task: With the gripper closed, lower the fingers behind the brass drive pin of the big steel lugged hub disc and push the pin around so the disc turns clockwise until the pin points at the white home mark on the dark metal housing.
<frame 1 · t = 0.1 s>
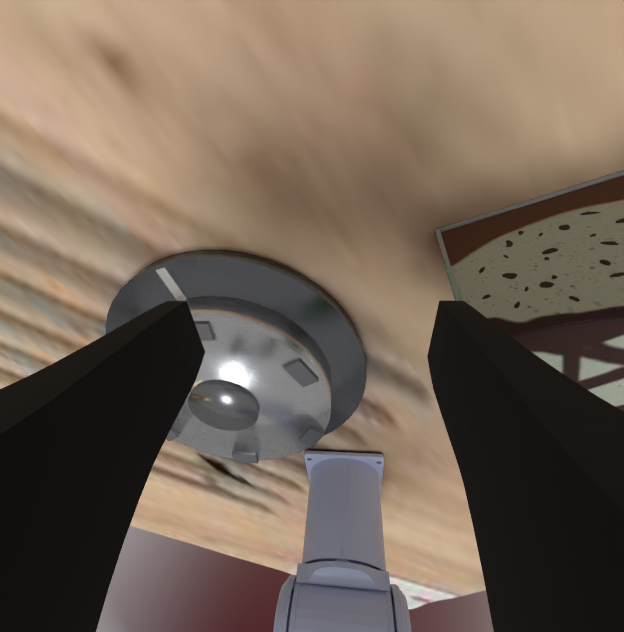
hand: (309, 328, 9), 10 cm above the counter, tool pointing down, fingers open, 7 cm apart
lugged hub disc: (221, 412, 21), point 5 cm above the counter, hinge at 0.0°
food container: (528, 250, 17), on the counter
nut housing: (240, 364, 25), on the counter
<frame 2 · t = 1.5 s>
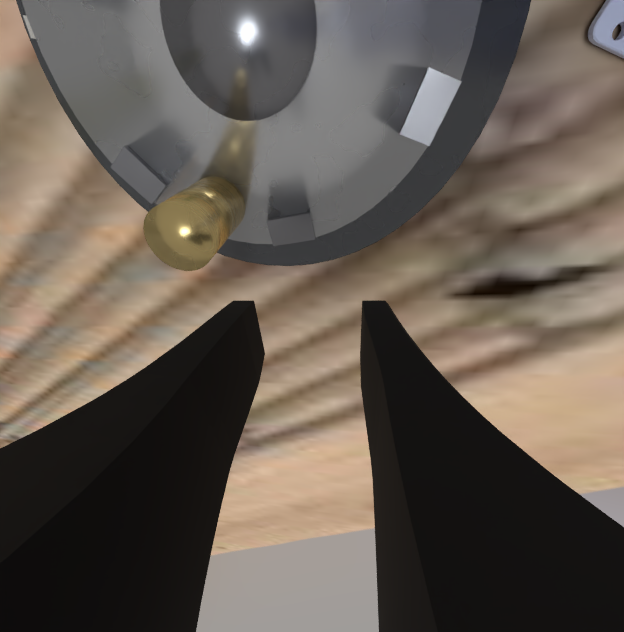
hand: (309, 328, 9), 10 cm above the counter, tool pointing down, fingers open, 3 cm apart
lugged hub disc: (235, 27, 10), point 5 cm above the counter, hinge at 0.0°
nut housing: (267, 45, 13), on the counter
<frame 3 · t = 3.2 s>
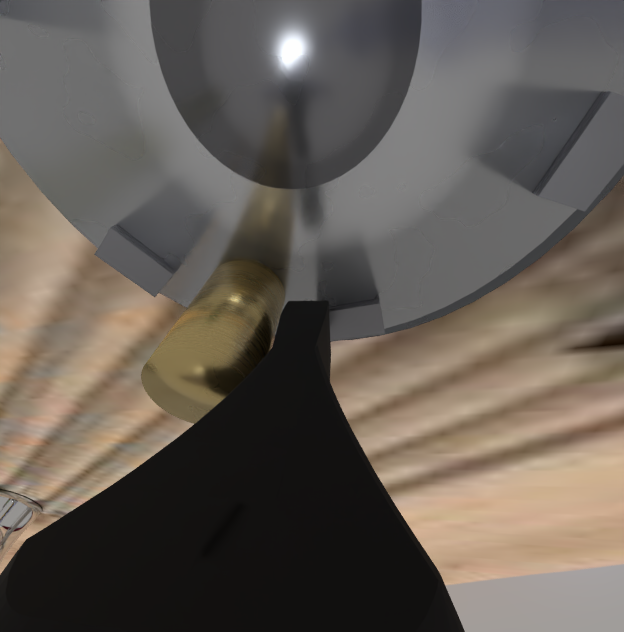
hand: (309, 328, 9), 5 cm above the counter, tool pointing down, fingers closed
lugged hub disc: (280, 48, 6), point 5 cm above the counter, hinge at -4.7°, touching gripper
beer glass: (15, 499, 34), on the counter
nut housing: (307, 64, 9), on the counter
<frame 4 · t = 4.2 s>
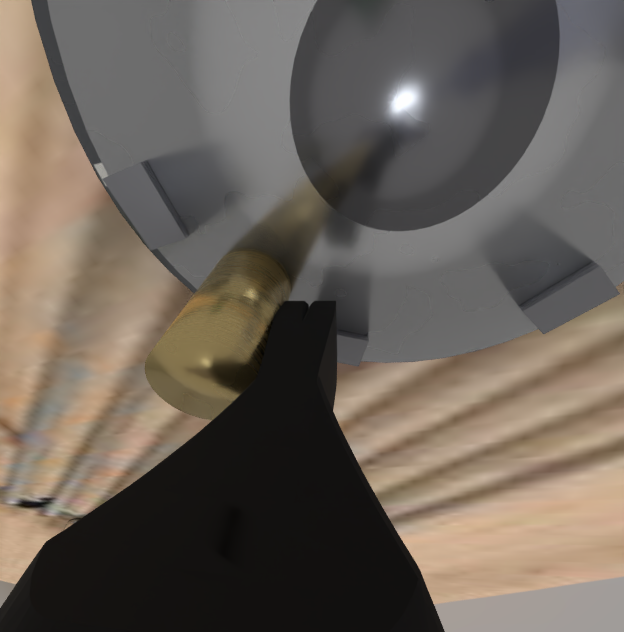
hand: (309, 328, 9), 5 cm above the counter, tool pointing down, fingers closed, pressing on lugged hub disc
lugged hub disc: (416, 109, 6), point 5 cm above the counter, hinge at -38.0°, touching gripper
nut housing: (389, 102, 10), on the counter
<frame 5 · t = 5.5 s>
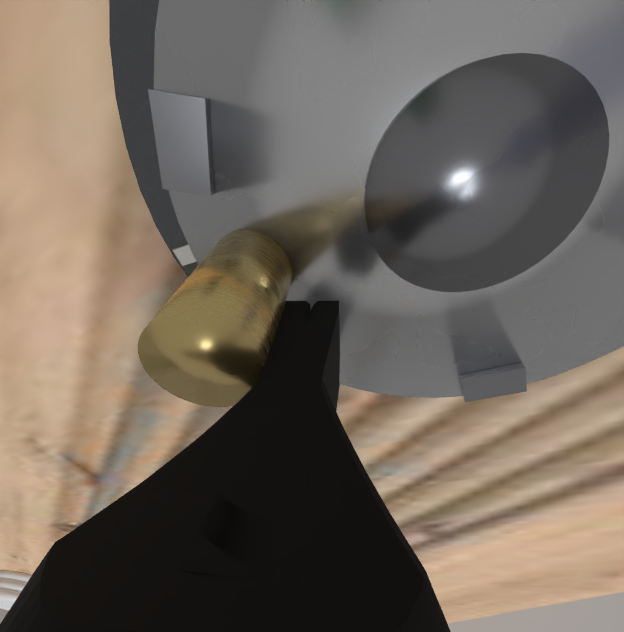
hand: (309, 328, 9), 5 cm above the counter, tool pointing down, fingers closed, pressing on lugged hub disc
lugged hub disc: (480, 200, 7), point 5 cm above the counter, hinge at -72.2°, touching gripper
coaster: (29, 576, 52), on the counter
nut housing: (430, 162, 10), on the counter
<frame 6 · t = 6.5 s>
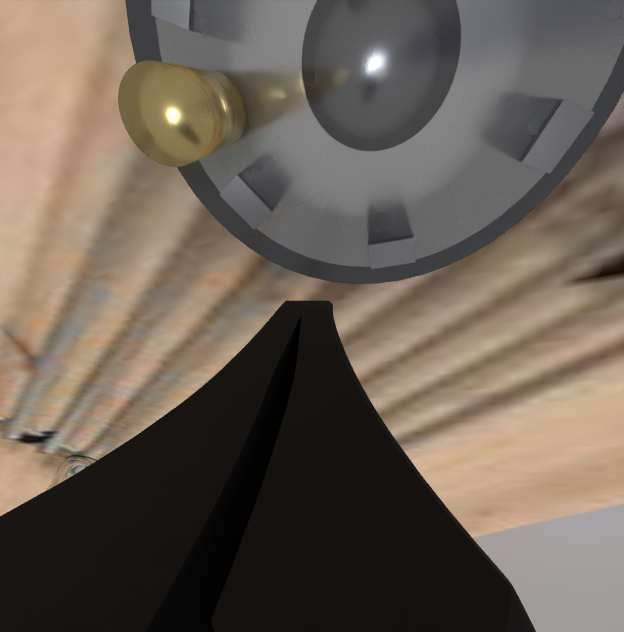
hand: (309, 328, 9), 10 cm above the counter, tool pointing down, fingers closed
lugged hub disc: (378, 63, 10), point 5 cm above the counter, hinge at -70.5°
beer glass: (90, 466, 39), on the counter
nut housing: (370, 71, 13), on the counter
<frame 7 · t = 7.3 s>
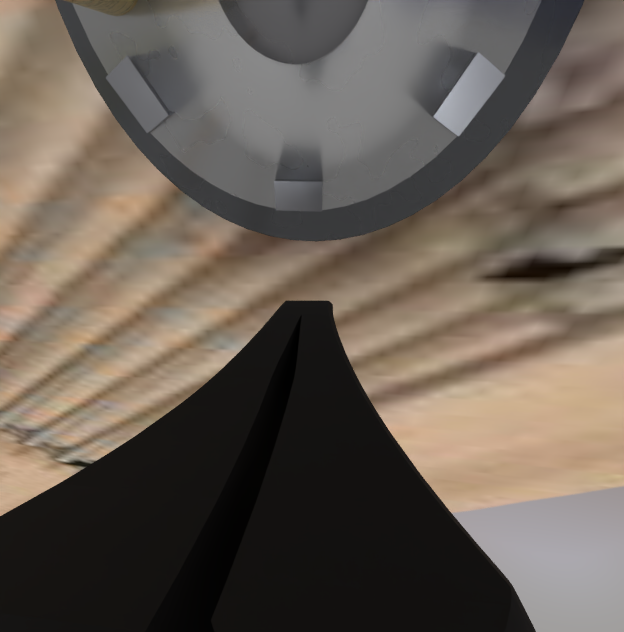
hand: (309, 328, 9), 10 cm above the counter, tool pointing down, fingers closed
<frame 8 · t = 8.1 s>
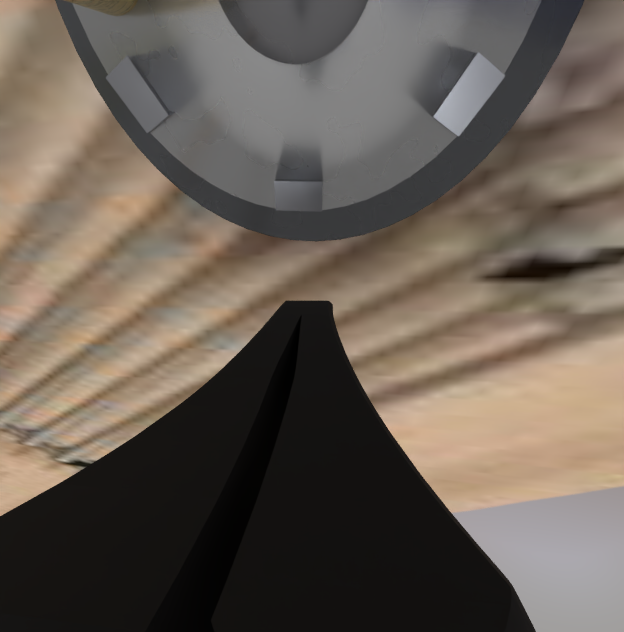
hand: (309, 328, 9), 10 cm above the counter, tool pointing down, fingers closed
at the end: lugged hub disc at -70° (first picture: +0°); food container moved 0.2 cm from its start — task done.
